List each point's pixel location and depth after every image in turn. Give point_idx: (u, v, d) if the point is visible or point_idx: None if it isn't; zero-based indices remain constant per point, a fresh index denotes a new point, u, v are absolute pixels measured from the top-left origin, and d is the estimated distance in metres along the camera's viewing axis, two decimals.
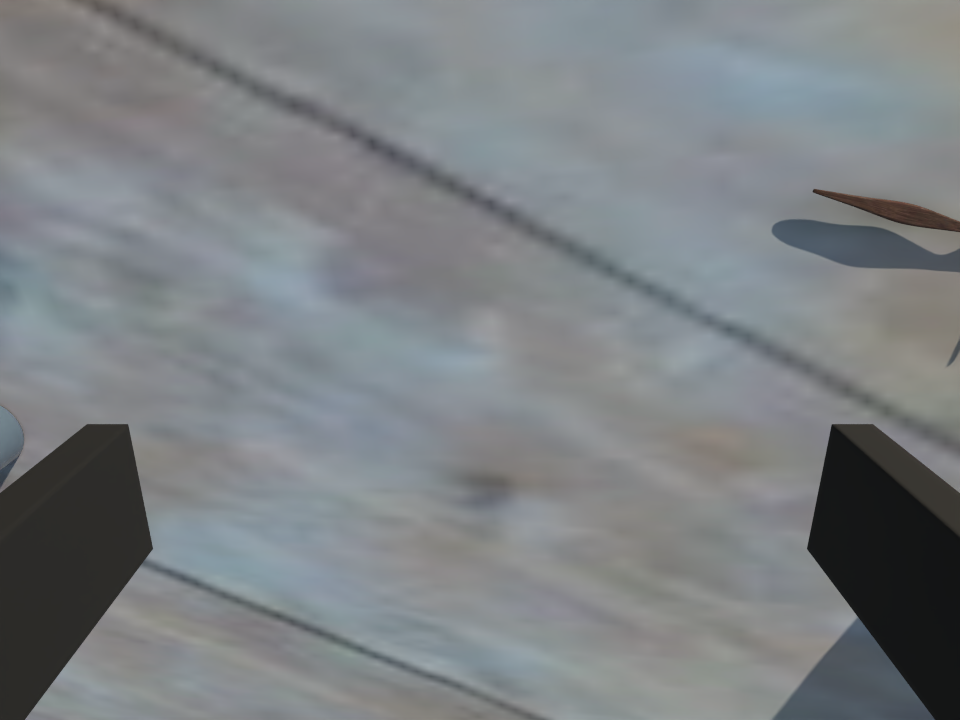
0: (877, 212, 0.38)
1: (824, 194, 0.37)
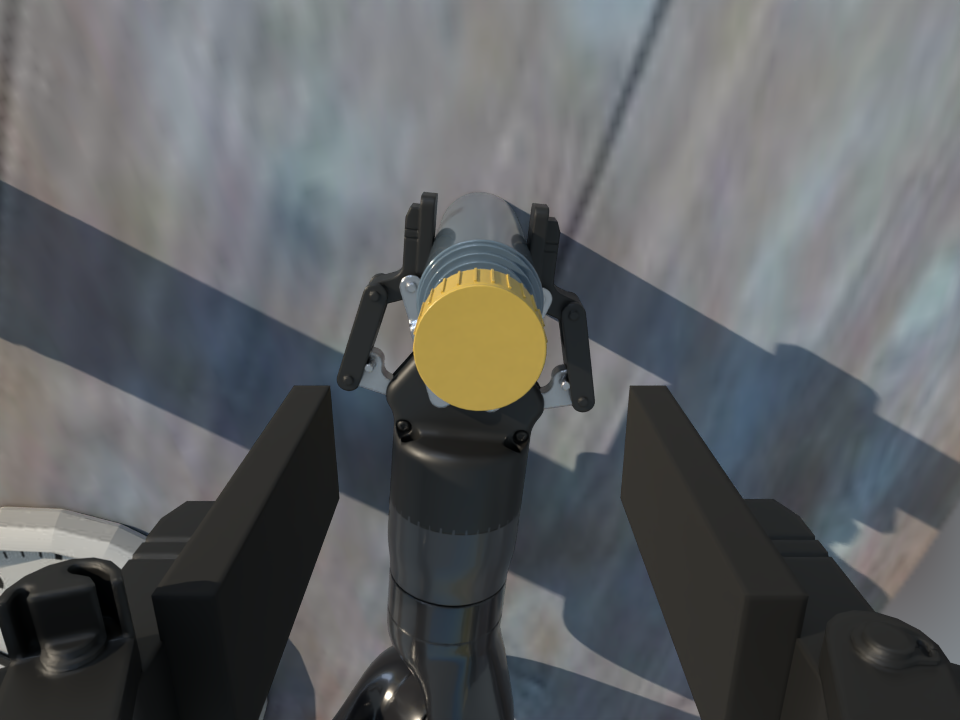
0: None
1: None
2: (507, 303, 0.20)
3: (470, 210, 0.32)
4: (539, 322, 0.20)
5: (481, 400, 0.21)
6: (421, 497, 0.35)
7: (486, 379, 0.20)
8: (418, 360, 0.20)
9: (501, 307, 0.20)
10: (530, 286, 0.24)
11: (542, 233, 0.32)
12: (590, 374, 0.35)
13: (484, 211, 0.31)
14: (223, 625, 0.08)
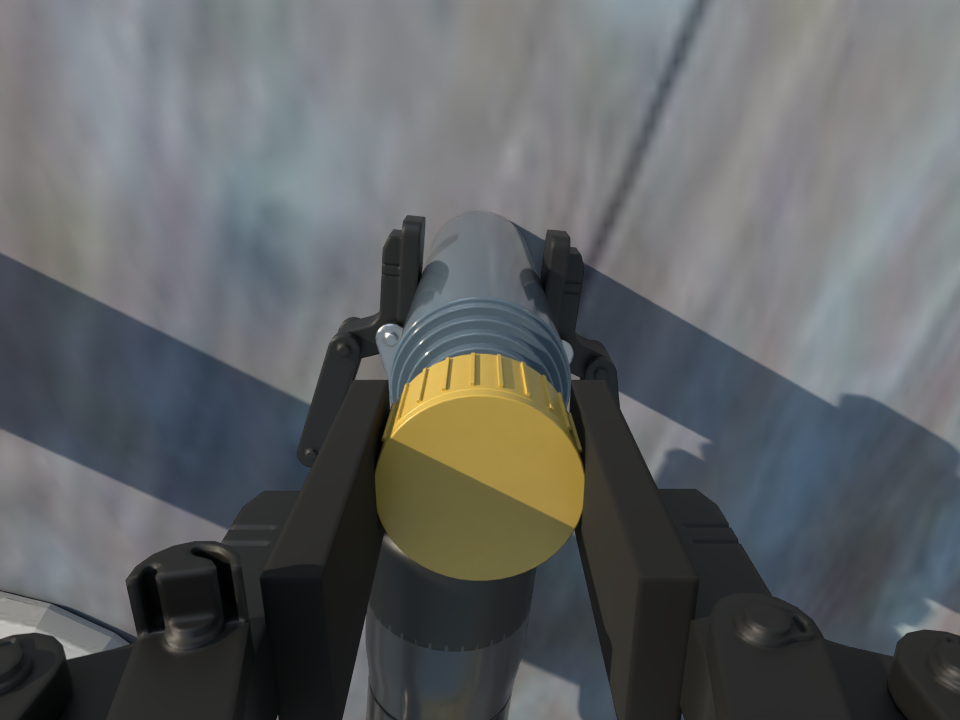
0: None
1: None
2: (524, 422, 0.12)
3: (467, 240, 0.24)
4: (575, 451, 0.12)
5: (482, 565, 0.13)
6: (405, 604, 0.27)
7: (490, 535, 0.13)
8: (381, 508, 0.13)
9: (514, 429, 0.12)
10: (553, 366, 0.16)
11: (561, 270, 0.25)
12: None
13: (485, 243, 0.24)
14: (325, 607, 0.09)
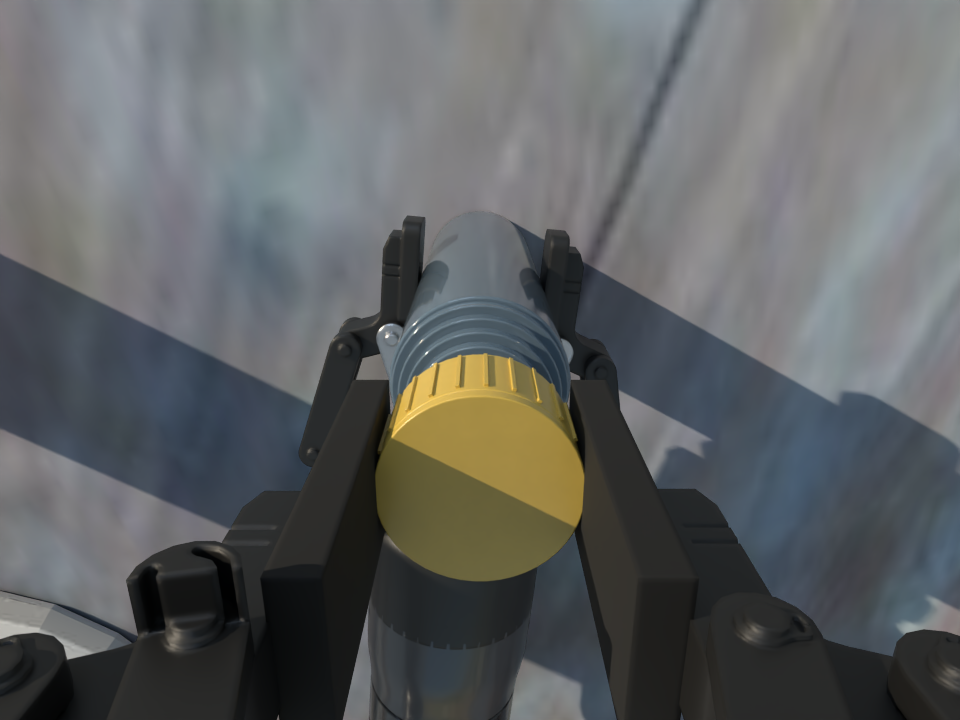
0: None
1: None
2: (391, 485, 0.13)
3: (467, 240, 0.24)
4: (397, 431, 0.12)
5: (561, 461, 0.12)
6: (407, 602, 0.27)
7: (522, 468, 0.12)
8: (532, 564, 0.13)
9: (401, 491, 0.13)
10: (552, 365, 0.17)
11: (561, 269, 0.25)
12: None
13: (485, 242, 0.24)
14: (326, 607, 0.09)
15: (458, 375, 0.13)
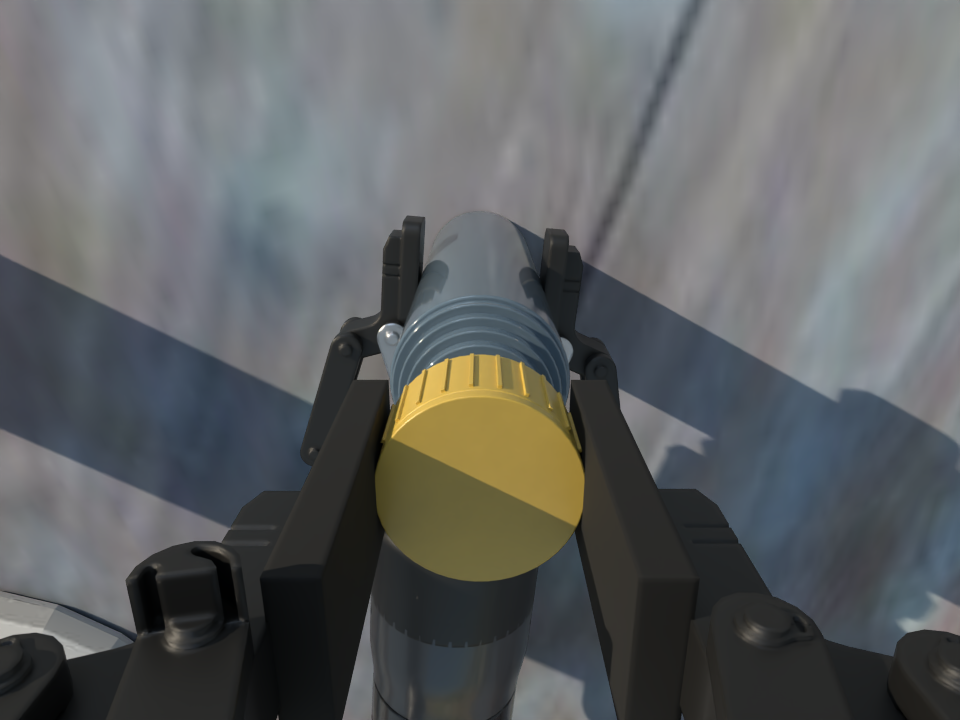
0: None
1: None
2: (504, 564, 0.13)
3: (466, 240, 0.25)
4: (449, 576, 0.13)
5: (413, 440, 0.12)
6: (408, 601, 0.27)
7: (436, 470, 0.12)
8: (539, 418, 0.12)
9: (506, 556, 0.13)
10: (552, 363, 0.17)
11: (560, 268, 0.25)
12: None
13: (485, 242, 0.24)
14: (325, 608, 0.09)
15: None
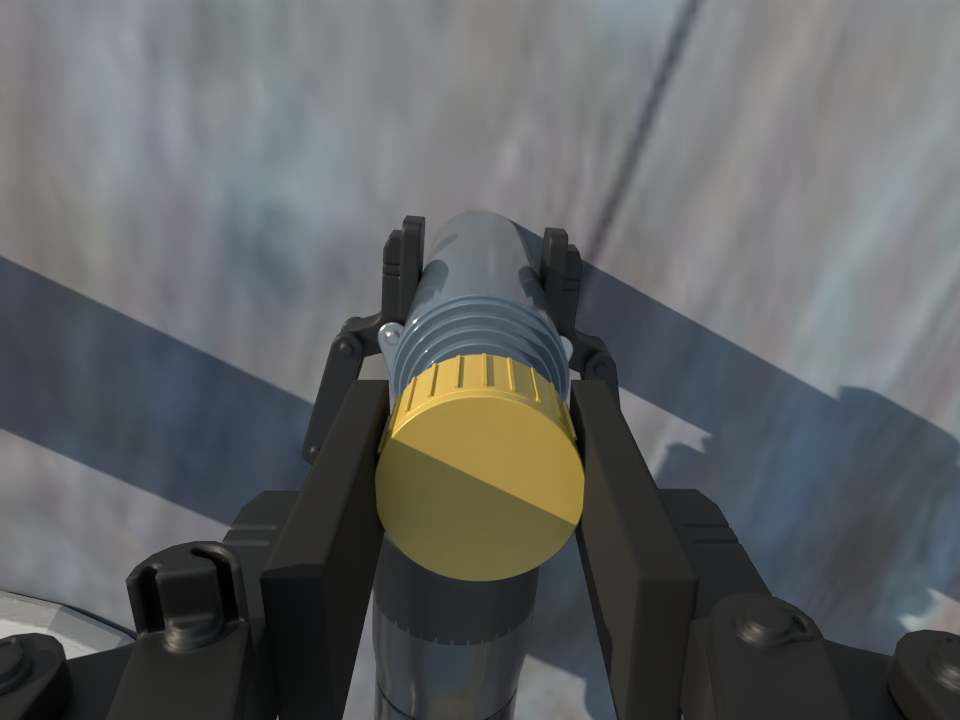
0: None
1: None
2: (550, 443, 0.12)
3: (466, 239, 0.25)
4: None
5: (451, 562, 0.13)
6: (410, 599, 0.28)
7: (471, 536, 0.13)
8: (380, 477, 0.12)
9: (538, 445, 0.12)
10: (551, 360, 0.17)
11: (559, 267, 0.25)
12: None
13: (484, 241, 0.24)
14: (325, 607, 0.09)
15: None
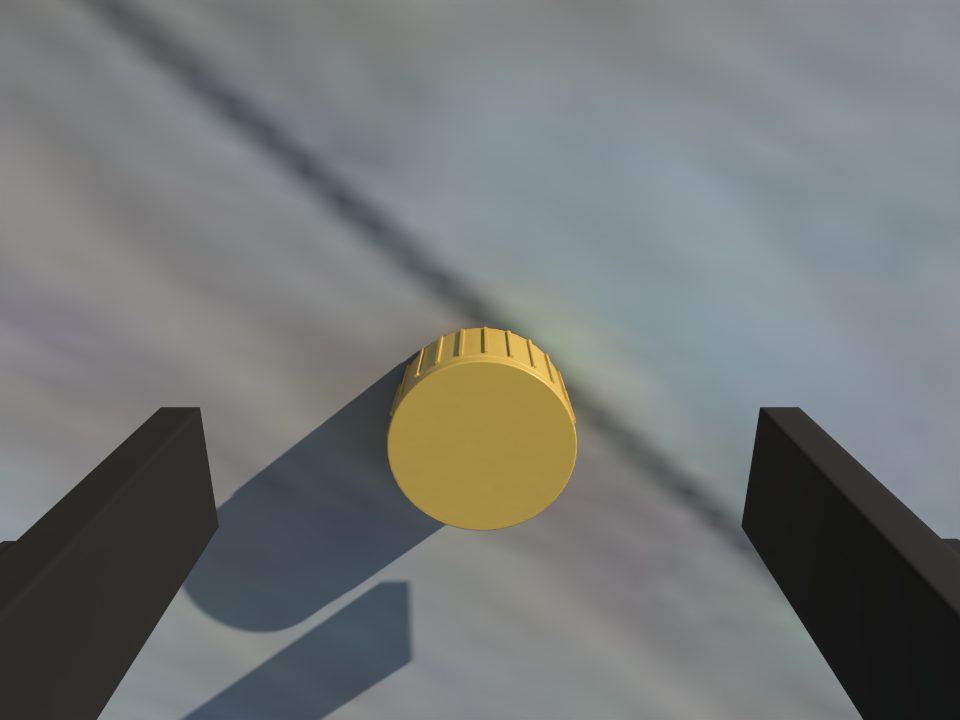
0: None
1: None
2: (544, 403, 0.14)
3: None
4: (575, 442, 0.14)
5: (456, 512, 0.15)
6: None
7: (474, 489, 0.14)
8: (392, 434, 0.14)
9: (534, 406, 0.14)
10: None
11: None
12: None
13: None
14: None
15: None
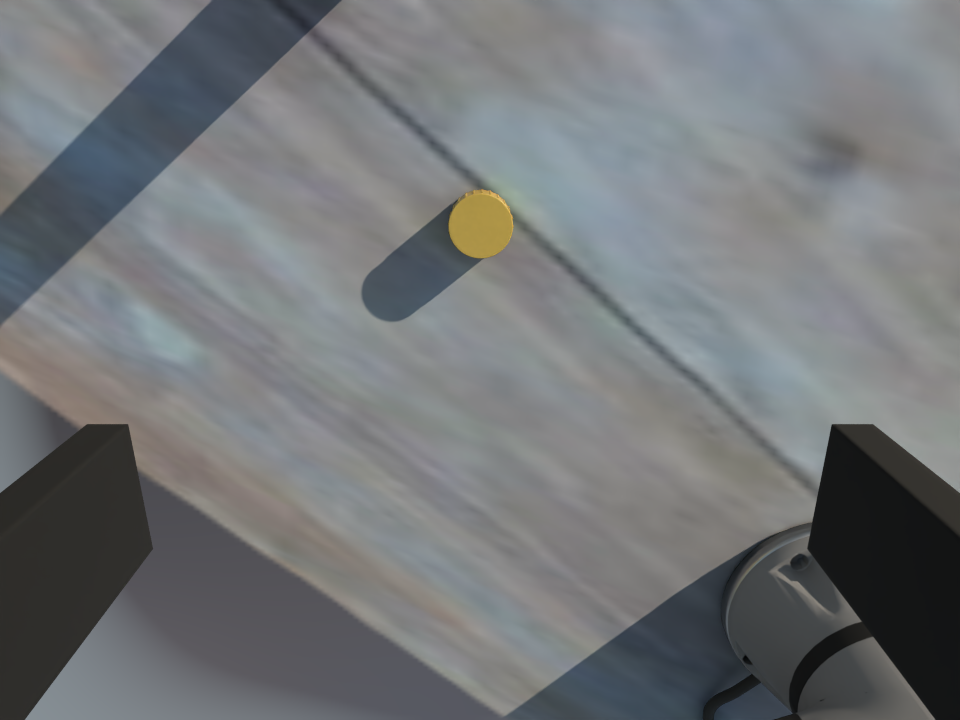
0: None
1: None
2: (501, 209, 0.41)
3: None
4: (512, 224, 0.42)
5: (471, 251, 0.42)
6: None
7: (478, 241, 0.42)
8: (450, 220, 0.42)
9: (498, 210, 0.41)
10: None
11: None
12: None
13: None
14: None
15: None
